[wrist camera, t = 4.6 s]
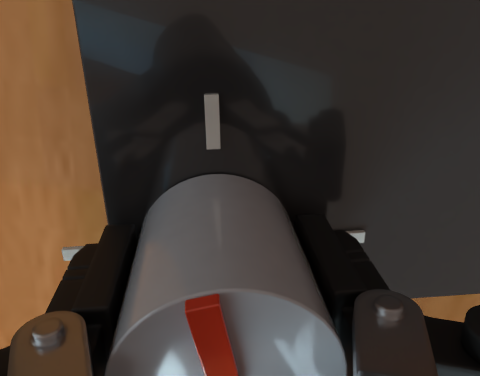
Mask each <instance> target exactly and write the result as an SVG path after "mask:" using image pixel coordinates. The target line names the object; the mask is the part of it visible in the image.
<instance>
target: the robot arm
mask: <svg viewBox="0 0 480 376" xmlns="http://www.w3.org/2000/svg"><path fill="white" fill-rule="evenodd" d="M295 232H296V234H297V237H298V239H299V241H300V244H301V246H302V249H303V251H304V253H305V256H306V258H307V261H308V263H309V266H310V268H311V270H312V273H313V275H314V278H315V280H316V282H317V285H318V287H319V290H320V292H321V294H322V297H323V299H324V302H325V304H326V307H327V309H328V311H329V314H330V316H331V319H332V321H333V323H334V326H335V328H336V331H337V333H338V335H339V338H340V340H341V343H342V345H343V348H344V350H345V355H346V359H347V376H480V305H478V306H475V307H472V308H471V309H469V310H468V312H467V313H466V317H465V321H464V323H463V322H457V321H450V320H444V319H437V318H432V317H428V316H424V315H423V312H422V310H421V309H420V307H419V306H418V305H417V304H416V303H415V302H414V301H413V300H412V299H410V298H409V297H407V296H405V295H403V294H401V293H398V292H395V291H391V290H390V289H389V287H388V286H387V284H386V283H385V281H384V280H383V278H382V277H381V275H380V274H379V272H378V271H377V269H376V268H375V266H374V264H373V263H372V261H370V258H369V257H368V255H367V254H366V252H364V249H363V248H362V246H361V245H360V243H359V242H358V240H357V239H356V238H355V237H353V236H352V235H350V234H349V233H347V232H346V231H344V230H333V229H332V227H331V225H330V224H329V222H328V220H327V219H326V217H325V215H324V214H309V215H297V217H296V221H295ZM137 242H138V240H137V232H136V227H135V225H134V224H120V225H106V227H105V229H104V231H103V234H102V236H101V239H100V241H99V243H98V244H86V245H85V246H84V247H83V248H82V249H80V250H79V251H78V252H77V253H76V254H74V255H73V257H72V259H71V261H70V264H69V266H68V270H66V272H65V274H64V276H63V280H62V281H61V282H60V284H59V286H58V288H57V290H56V292H55V294H54V296H53V298H52V300H51V302H50V304H49V306H48V308H47V311H46V313H45V314H43V315H40V316H38V317H36V318H34V319H32V320H30V321H29V322H27V323H26V324H24V325H23V326H22V327H21V328H20V329H19V330H18V331H17V332H16V333H15V335H14V336H13V338H12V340H11V345H10V346H8V347H6V348H3V349H0V376H104V373H105V368H106V364H107V360H108V356H109V352H110V348H111V344H112V340H113V336H114V332H115V328H116V324H117V320H118V317H119V313H120V309H121V305H122V301H123V297H124V293H125V289H126V285H127V281H128V277H129V273H130V269H131V265H132V262H133V258H134V254H135V250H136V246H137Z"/></svg>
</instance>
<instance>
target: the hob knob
mask: <svg viewBox="0 0 480 376" xmlns="http://www.w3.org/2000/svg"><path fill="white" fill-rule="evenodd" d="M104 376H347V359H346V355H345V350H344V348H343V345H342V343H341V340H340V338H339V335H338V333H337V331H336V328H335V326H334V323H333V321H332V319H331V316H330V314H329V311H328V309H327V307H326V304H325V302H324V299H323V297H322V294H321V292H320V290H319V287H318V285H317V282H316V280H315V278H314V275H313V273H312V270H311V268H310V266H309V263H308V261H307V258H306V256H305V253H304V251H303V249H302V246H301V244H300V241H299V239H298V237H297V234H296V232H295V229H294V227H293V225H292V222H291V220H290V217H289V215H288V213H287V211H286V209H285V208H284V206H283V204H282V203H281V202H280V201H279V199H278V198H277V197H276V196H275V195H274V194H273V193H271V192H270V191H269V190H268V189H266V188H265V187H263V186H262V185H260V184H258V183H256V182H254V181H252V180H249V179H246V178H243V177H239V176H235V175H227V174H210V175H203V176H198V177H194V178H191V179H188V180H186V181H183V182H181V183H179V184H177V185H175V186H174V187H172V188H170V189H169V190H168V191H166V192H165V193H164V194H162V195H161V196H160V197H159V198H158V199H157V200H156V201H155V203H154V204H153V205H152V206H151V208H150V209H149V211H148V213H147V214H146V216H145V218H144V221H143V224H142V226H141V230H140V234H139V238H138V242H137V246H136V250H135V254H134V258H133V262H132V265H131V269H130V273H129V277H128V281H127V285H126V289H125V293H124V297H123V301H122V305H121V309H120V313H119V317H118V320H117V324H116V328H115V332H114V336H113V340H112V344H111V348H110V352H109V356H108V360H107V364H106V368H105V373H104Z"/></svg>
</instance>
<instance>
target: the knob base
mask: <svg viewBox="0 0 480 376" xmlns="http://www.w3.org/2000/svg"><path fill="white" fill-rule="evenodd" d="M72 3H73V9H74V16H75V22H76V28H77V34H78V41H79V47H80V53H81V59H82V66H83V72H84V78H85V84H86V91H87V97H88V103H89V109H90V116H91V122H92V128H93V134H94V141H95V147H96V153H97V159H98V166H99V172H100V178H101V184H102V191H103V197H104V203H105V209H106V216H107V222H108V225H120V224H134V225H135V227H136V232H137V240H138V238H139V234H140V230H141V226H142V224H143V221H144V218H145V216H146V214H147V213H148V211H149V209H150V208H151V206H152V205H153V204H154V203H155V201H156V200H157V199H158V198H159V197H160V196H161V195H162V194H164V193H165V192H166V191H168V190H169V189H170V188H172V187H174V186H175V185H177V184H179V183H181V182H183V181H186V180H188V179H191V178H194V177H198V176H203V175H210V174H227V175H235V176H239V177H243V178H246V179H249V180H252V181H254V182H256V183H258V184H260V185H262V186H263V187H265V188H266V189H268V190H269V191H270V192H271V193H273V194H274V195H275V196H276V197H277V198H278V199H279V201H280V202H281V203H282V204H283V206H284V208H285V209H286V211H287V213H288V215H289V217H290V220H291V222H292V225H293V227H294V229H295V221H296V217H297V215H309V214H324V215H325V217H326V219H327V220H328V222H329V224H330V225H331V227H332V229H333V230H344V231H346V232H347V233H349V234H350V235H352V236H353V237H355V238H356V239H357V240H358V242H359V243H360V245H361V246H362V248H363V249H364V252H366V254H367V255H368V257H369V258H370V261H372V263H373V264H374V266H375V268H376V269H377V271H378V272H379V274H380V275H381V277H382V278H383V280H384V281H385V283H386V284H387V286H388V287H389V289H390V290H391V291H395V292H398V293H401V294H403V295H405V296H407V297H409V298H423V297H437V296H451V295H465V294H480V0H72ZM83 247H84V246H75V247H63V249H62V254H63V258H64V261H67V260H71V259H72V257H73V255H74V254H76V253H77V252H78V251H79V250H80V249H82V248H83Z"/></svg>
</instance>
